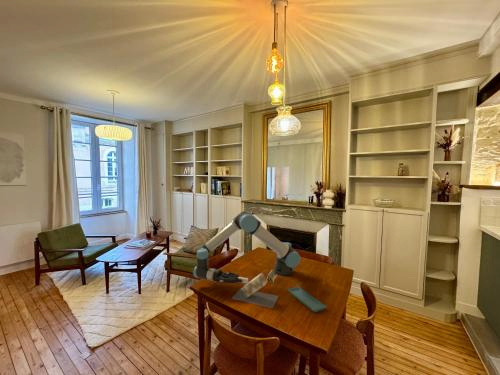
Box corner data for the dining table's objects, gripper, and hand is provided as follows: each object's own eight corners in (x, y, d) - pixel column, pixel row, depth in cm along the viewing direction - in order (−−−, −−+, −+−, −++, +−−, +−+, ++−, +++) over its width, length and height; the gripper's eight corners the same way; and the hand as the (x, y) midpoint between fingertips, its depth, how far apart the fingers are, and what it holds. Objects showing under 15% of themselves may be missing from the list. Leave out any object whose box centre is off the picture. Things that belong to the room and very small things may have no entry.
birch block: (240, 289, 138) (258, 276, 133) (244, 285, 144) (262, 272, 139) (246, 298, 137) (265, 285, 132) (249, 293, 143) (268, 280, 138)
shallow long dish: (287, 292, 147) (287, 288, 147) (298, 289, 150) (298, 285, 150) (313, 314, 123) (313, 310, 123) (326, 310, 127) (326, 306, 126)
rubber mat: (231, 299, 136) (231, 298, 136) (240, 288, 149) (240, 288, 149) (272, 308, 127) (272, 308, 127) (278, 296, 140) (278, 296, 140)
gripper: (219, 276, 154) (251, 282, 146) (209, 284, 142) (243, 291, 134) (219, 265, 154) (251, 271, 145) (209, 273, 142) (243, 279, 133)
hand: (247, 281), depth 140 cm, fingers closed
